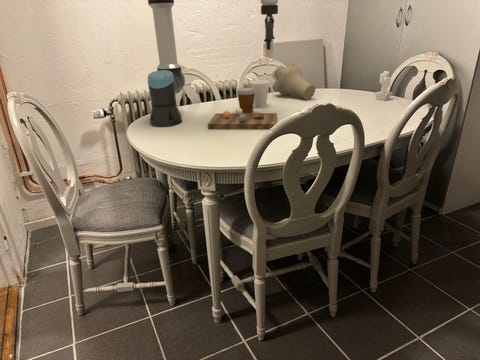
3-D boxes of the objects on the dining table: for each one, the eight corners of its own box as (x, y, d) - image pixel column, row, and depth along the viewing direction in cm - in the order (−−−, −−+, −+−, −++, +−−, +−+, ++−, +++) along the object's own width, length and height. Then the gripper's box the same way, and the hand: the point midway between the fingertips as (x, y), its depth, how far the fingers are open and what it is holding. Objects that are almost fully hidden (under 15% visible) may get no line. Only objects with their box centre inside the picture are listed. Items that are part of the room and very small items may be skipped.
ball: (222, 119, 162) (221, 112, 160) (223, 117, 165) (223, 110, 163) (229, 119, 161) (229, 112, 160) (230, 117, 164) (230, 110, 163)
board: (208, 129, 157) (207, 123, 156) (215, 118, 173) (215, 113, 172) (275, 129, 153) (275, 123, 152) (277, 118, 169) (277, 113, 168)
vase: (333, 75, 196) (299, 59, 214) (307, 73, 183) (273, 56, 201) (319, 111, 207) (288, 93, 224) (293, 112, 194) (263, 92, 212)
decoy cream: (234, 115, 167) (234, 108, 165) (236, 113, 170) (235, 106, 168) (242, 115, 166) (241, 108, 165) (242, 113, 169) (242, 106, 168)
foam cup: (249, 107, 190) (248, 83, 184) (254, 103, 197) (254, 80, 192) (265, 108, 186) (265, 83, 181) (271, 104, 194) (271, 80, 189)
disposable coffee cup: (254, 115, 176) (253, 90, 171) (235, 114, 178) (234, 90, 173) (257, 110, 184) (256, 87, 179) (239, 110, 186) (238, 87, 181)
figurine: (393, 98, 196) (397, 70, 189) (384, 101, 190) (388, 73, 184) (380, 97, 201) (384, 69, 194) (372, 100, 195) (375, 72, 189)
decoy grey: (237, 123, 155) (237, 115, 154) (238, 120, 158) (238, 113, 157) (245, 123, 155) (245, 115, 153) (246, 120, 158) (246, 113, 157)
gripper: (276, 3, 143) (276, 58, 152) (279, 4, 165) (278, 52, 174) (258, 4, 144) (259, 59, 153) (263, 5, 166) (263, 52, 175)
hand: (269, 55), depth 163 cm, fingers open, 13 cm apart
